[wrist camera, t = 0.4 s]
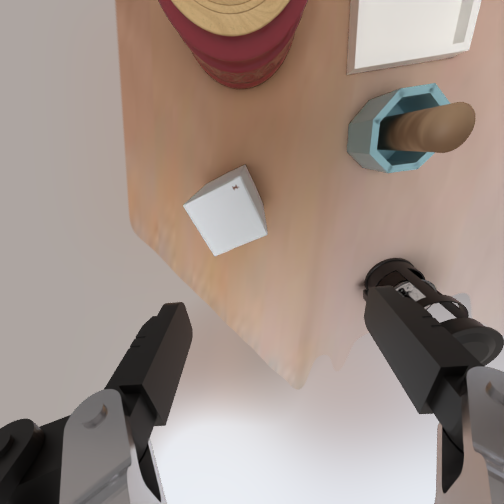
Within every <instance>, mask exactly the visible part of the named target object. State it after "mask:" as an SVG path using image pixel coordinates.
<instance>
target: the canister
mask: <svg viewBox="0 0 504 504" xmlns="http://www.w3.org/2000/svg"><path fill="white" fill-rule="evenodd" d="M158 1H159V3H160V5H161V7H162V9H163V11H164V12H165V14H166V16H167V17H168V19H169V20H170V22H171V23H172V25H173V26H174V27H175V29H176V30H177V31H178V33H179V34H180V36H181V38H182V39H183V41H184V42H185V43H186V45H187V46H188V47H189V48H190V50H191V51H192V53H193V55H194V57H195V58H196V60H197V61H198V63H199V64H200V66H201V67H202V68H203V69H204V71H205V72H206V73H207V74H208V75H209V76H210V77H212V78H213V79H214V80H216V81H217V82H219V83H221V84H223V85H225V86H228V87H231V88H237V89H245V88H251V87H254V86H257V85H259V84H261V83H263V82H264V81H266V80H267V79H269V78H270V77H271V76H272V75H273V74H274V73H275V72H276V71H277V70H278V68H279V67H280V66H281V64H282V63H283V61H284V59H285V58H286V56H287V54H288V51H289V49H290V47H291V44H292V41H293V38H294V34H295V31H296V29H297V26H298V24H299V22H300V19H301V17H302V14H303V11H304V8H305V6H306V3H307V1H308V0H158Z"/></svg>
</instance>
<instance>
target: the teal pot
mask: <svg viewBox="0 0 504 504" xmlns="http://www.w3.org/2000/svg"><path fill="white" fill-rule="evenodd" d="M447 104H450V102H449V101H448V100H447V98H446V97H445V96H444V94H443V93H442V92H441V90H440V89H439V87H438V86H437V85H436V83H433V84H427V85H420V86H414V87H407V88H400V89H398V90H395V91H392V92H390V93H387V94H384V95H382V96H379V97H377V98H374V99H371V100H369V101H368V102H367V103H366V105H365V106H364V107H363V108H362V109H361V111H360V112H359V113H358V114H357V115H356V116H355V118H354V119H353V120H352V121H351V122H350V124H349V128H348V144H347V152H348V153H349V154H350V155H351V156H352V157H353V158H354V159H355V160H356V161H357V162H358V163H359V164H360V165H361V166H362V168H367V169H371V170H376V171H381V172H385V173H392V172H399V171H407V170H414V169H418V168H419V167H420V166H421V165H422V164H424V163H425V162H426V161H427V160H428V159H429V158H430V157H431V156H432V155H433V154H434V153H435V152H416V151H395V150H377V144H378V136H379V127H380V121H381V120H382V119H383V118H384V117H388V116H393V115H398V114H403V113H408V112H413V111H417V110H422V109H427V108H432V107H437V106H442V105H447Z"/></svg>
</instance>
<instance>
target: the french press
mask: <svg viewBox="0 0 504 504" xmlns="http://www.w3.org/2000/svg"><path fill="white" fill-rule="evenodd" d="M395 271H397V272H399V273H400V274H401V275H402V276H403V277H404V278H405V279H406V280H404V281H402V282H400V283H398V284H396V285H395V286H394V288H395V289H396V290H397V291H398V292H399V294H400V295H401V296H402V297H408V298H410V299H412V300H413V301H415V302H417V303H418V304H420V305H422V306H423V307H424V308H425V309H426V310H427V309H428V308H429V307H430V306H431V305H432V304H434V303H440V304H441V305H443V306H444V307H445V308H446V309H447V310H448V311H449V312H451V313H452V314H453V315H454V316H455V317H456V318H455V319H450V320H447V321H444V322H441V323H440V324H441V326H442V327H444V328H445V329H446V330H447V331H449V332H450V333H451V334H452V335H453V336H454V337H455V338H456V339H457V340H458V341H459V342H460V343H461V344H462V345H463V346H464V347H465V348H466V349H467V350H468V351H469V352H470V353H471V354H472V355H473V356H474V357H475V358H476V359H477V360H478V361H479V362H480V363H481V364H483V365H484V366H485V365H487V364H488V363H490V362H491V361H492V360H494V359H495V358H496V357H497V356H498V355H499V353H500V352H501V350H502V348H503V345H504V340H503V337H502V335H501V334H500V333H499V332H498V331H496V330H494V329H492V328H490V327H485V326H483V325H482V324H481V323H480V322H478V321H476V320H475V319H471V318H468V311H467V309H466V307H465V306H464V305H462V304H461V303H460V302H459V301H457V300H456V299H454V298H453V297H451V296H447V295H442V294H441V293H440V292H438V291H437V290H436V288H435V286H434V285H433V284H432V283H431V282H429V281H426V280H425V277H424V276H423V274H422V273H421V272H420V271H418V270H417V269H416V268H415V267H414V266H413V265H412V264H411V263H410V262H409V261H407V260H404V259H401V258H392V259H387V260H384V261H382V262H380V263H378V264H377V265H375V266H374V267H373V268H372V269H371V270H370V271H369V273H368V274H367V276H366V279H365V287H366V289H365V290H364V291H363V298H364V299H365V301H366V302H367V296H368V291H369V288H370V287H377V285H378V284H379V282H380V281H381V280H382V279H383V278H384V277H385V276H387V275H388V274H390V273H392V272H395ZM452 302H454V303H458V305H459V308H458V307H457V306H456V305H455V304H453V303H452Z"/></svg>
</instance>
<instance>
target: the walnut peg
mask: <svg viewBox="0 0 504 504" xmlns="http://www.w3.org/2000/svg"><path fill="white" fill-rule="evenodd" d="M474 124H475V112H474V109H473V108H472V106H471V105H469V104H467V103H464V102H457V103H452V104H447V105H442V106H437V107H432V108H427V109H422V110H417V111H413V112H408V113H403V114H398V115H393V116H388V117H384V118H383V119H382V120H381V121H380V127H379V136H378V144H377V150H395V151H416V152H437V153H445V152H449V151H452V150H454V149H456V148H458V147H459V146H460V145H461V144H463V143H464V142H465V141H466V139H467V138H468V137H469V135H470V134H471V132H472V130H473V127H474Z"/></svg>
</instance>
